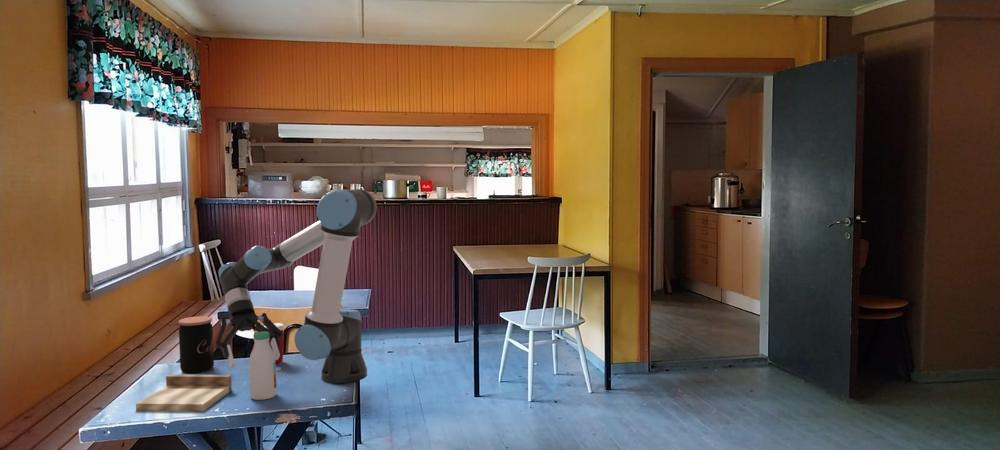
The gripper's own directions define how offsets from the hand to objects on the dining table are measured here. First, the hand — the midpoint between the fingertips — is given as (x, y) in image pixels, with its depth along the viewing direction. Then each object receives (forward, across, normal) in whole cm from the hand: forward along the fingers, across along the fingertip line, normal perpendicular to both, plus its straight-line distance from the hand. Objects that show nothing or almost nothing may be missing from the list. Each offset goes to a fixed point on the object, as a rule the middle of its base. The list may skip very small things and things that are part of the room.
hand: (255, 361), depth 196 cm
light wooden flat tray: (0, +18, -16) cm, 24 cm away
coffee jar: (-21, +8, -38) cm, 44 cm away
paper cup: (-16, -16, -32) cm, 39 cm away
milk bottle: (+8, -2, -8) cm, 12 cm away
